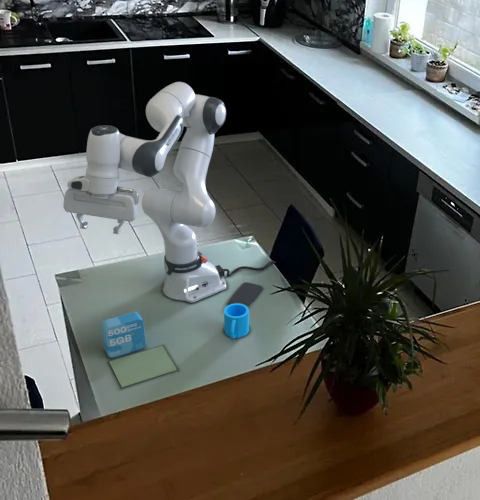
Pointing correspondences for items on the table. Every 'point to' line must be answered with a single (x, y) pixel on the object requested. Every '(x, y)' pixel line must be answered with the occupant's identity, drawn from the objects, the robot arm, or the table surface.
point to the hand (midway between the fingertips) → (100, 230)
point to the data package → (123, 334)
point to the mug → (236, 320)
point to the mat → (142, 366)
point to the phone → (245, 294)
